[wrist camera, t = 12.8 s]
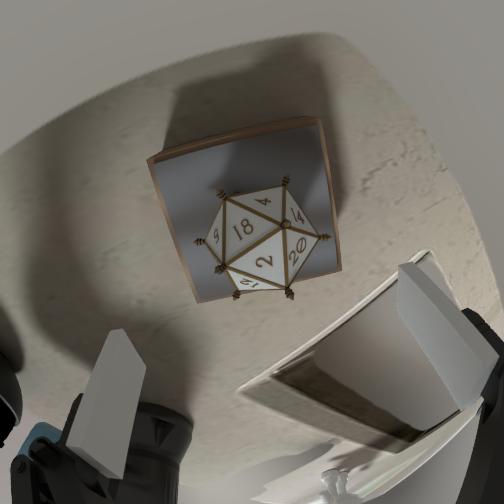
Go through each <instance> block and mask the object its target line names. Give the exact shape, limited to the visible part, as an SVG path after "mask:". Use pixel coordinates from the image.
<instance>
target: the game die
mask: <svg viewBox="0 0 504 504" xmlns="http://www.w3.org/2000/svg"><path fill="white" fill-rule="evenodd" d="M289 181H290V174H288V175H286V176H285V177H283V180H282V184H281V185H277V186H272V187H267V188H263V189H258V190H253V191H248V192H244V193H239V192H235V191H234V194H233V195H231V196H226V193H225V192H224V190H222V189H217V188H216V192H217V195H216V196H218V197H219V199H220V198H221V199H222V203H221V205H220V207H219V209H218V211H217V213H216V216H215V218H214V220H213V222H212V224H211V226H210V229H209V231H208V233H207V235H206V238H205V239H202V238H200V239H199V238H197V239H196V240H195V241H194V242H193V243H195V244H197V246H198V245H202V244H205V245H206V247H207V248H208V250H209V251H210V253H211V254H212V255H213V257H214V258H215V260H216V261H217V263H218V264H219V265H217V266H216V267H215V272H214V273H215V274H220V275H221V273H223V272H224V273H225V274H226V276H227V277H228V278H229V280H230V281H231V283H232V284H233V286H234V287H235V288H236V291H235V292H234V294H233V295H232V296H233V300H236V299H238V298H240V297H239V296H240V292H241V291H262V290H285V294H286V296H287V297H286V298H290V299H291V300H293V298H294V292H292V289H290V288H289V287H290V286H291V284H292V283H293V281H294V280H295V278H296V276H297V275H298V273H299V272H300V270H301V268H302V267H303V265H304V264H305V262H306V261H307V259H308V257H309V256H310V254H311V253H312V251H313V249H314V248H315V246H316V244H317V243H318V241H319V240H323V241H327V240H329V239H330V238H332V236H330V235H328V234H327V233H326V234H322V235H319V234H318V233H317V231H316V230H315V228H314V227H313V225H312V224H311V222H310V221H309V219H308V218H307V216H306V215H305V213H304V212H303V210H302V209H301V207H300V206H299V204H298V203H297V201H296V200H295V199H294V197H293V196H292V194H291V193H290V191H289V190H288V189H287V187H286V185H287V184H289Z"/></svg>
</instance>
